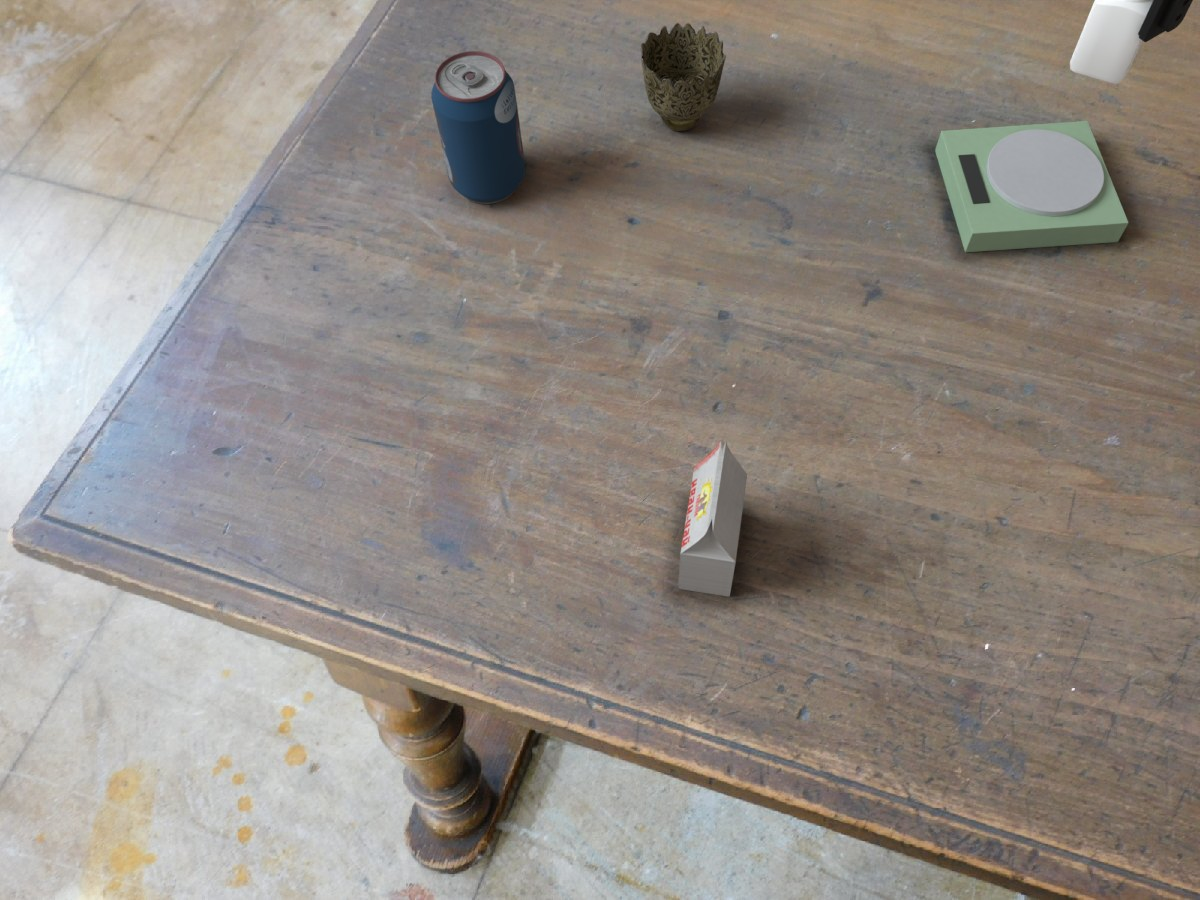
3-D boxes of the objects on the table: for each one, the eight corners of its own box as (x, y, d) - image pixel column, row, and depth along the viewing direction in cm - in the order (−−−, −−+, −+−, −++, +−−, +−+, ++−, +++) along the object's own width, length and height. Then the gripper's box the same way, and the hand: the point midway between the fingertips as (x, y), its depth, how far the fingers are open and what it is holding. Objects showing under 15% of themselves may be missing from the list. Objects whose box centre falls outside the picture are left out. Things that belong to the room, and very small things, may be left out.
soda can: (542, 178, 97) (530, 71, 87) (487, 221, 95) (467, 117, 85) (490, 142, 100) (471, 34, 90) (434, 183, 98) (409, 77, 87)
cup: (722, 148, 99) (728, 78, 92) (642, 150, 99) (642, 81, 92) (717, 91, 102) (723, 20, 95) (640, 94, 102) (639, 23, 96)
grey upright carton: (740, 512, 80) (752, 444, 71) (729, 596, 76) (740, 535, 68) (691, 505, 80) (696, 436, 72) (678, 588, 77) (682, 526, 68)
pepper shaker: (1079, 40, 80) (1127, -78, 72) (1134, 55, 79) (1189, -64, 71) (1064, 73, 79) (1112, -44, 70) (1120, 89, 78) (1175, -28, 69)
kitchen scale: (1078, 140, 97) (1090, 115, 95) (1117, 242, 91) (1131, 217, 89) (934, 150, 97) (942, 125, 95) (964, 252, 91) (974, 228, 89)
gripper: (1429, -230, 56) (1260, 54, 72) (1172, -352, 64) (1070, -71, 80) (1335, -179, 55) (1183, 101, 70) (1082, -311, 62) (996, -31, 78)
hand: (1124, 7), depth 75 cm, fingers closed on pepper shaker, 5 cm apart
